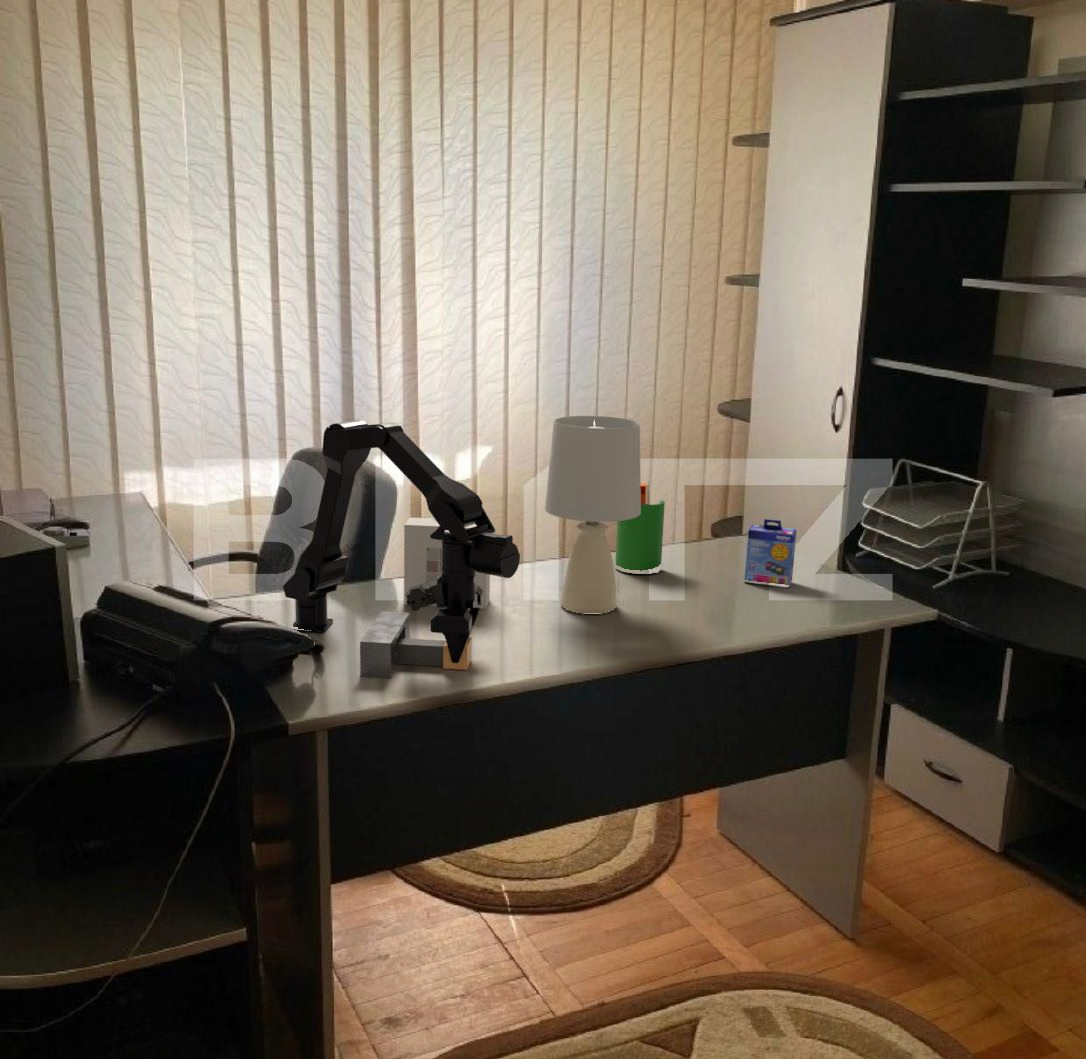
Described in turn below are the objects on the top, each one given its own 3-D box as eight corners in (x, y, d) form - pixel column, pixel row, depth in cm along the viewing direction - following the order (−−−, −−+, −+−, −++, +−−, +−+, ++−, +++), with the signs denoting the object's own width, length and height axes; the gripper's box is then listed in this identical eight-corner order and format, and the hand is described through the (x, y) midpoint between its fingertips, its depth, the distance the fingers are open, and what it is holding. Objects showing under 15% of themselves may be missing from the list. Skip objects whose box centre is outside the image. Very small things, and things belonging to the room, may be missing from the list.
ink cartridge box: (743, 583, 243) (748, 518, 240) (746, 577, 248) (751, 513, 245) (789, 589, 240) (795, 523, 237) (792, 582, 245) (798, 517, 242)
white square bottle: (403, 605, 221) (403, 505, 216) (420, 578, 239) (421, 486, 234) (485, 609, 220) (488, 509, 215) (496, 582, 238) (498, 490, 233)
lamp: (542, 620, 214) (548, 427, 205) (541, 591, 232) (547, 413, 223) (640, 623, 214) (650, 430, 206) (631, 594, 233) (640, 416, 224)
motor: (658, 565, 255) (663, 478, 251) (663, 576, 247) (669, 486, 242) (613, 564, 255) (617, 477, 250) (617, 575, 246) (622, 485, 241)
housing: (381, 643, 199) (381, 611, 197) (409, 645, 198) (409, 612, 197) (360, 676, 183) (360, 641, 182) (390, 678, 183) (390, 643, 181)
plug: (401, 655, 193) (401, 633, 192) (471, 659, 192) (471, 637, 191) (395, 665, 188) (395, 643, 187) (467, 669, 187) (467, 647, 186)
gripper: (420, 551, 195) (420, 636, 199) (398, 581, 177) (399, 674, 181) (484, 554, 195) (483, 640, 198) (468, 584, 176) (467, 678, 180)
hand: (457, 657), depth 189 cm, fingers closed on plug, 5 cm apart
